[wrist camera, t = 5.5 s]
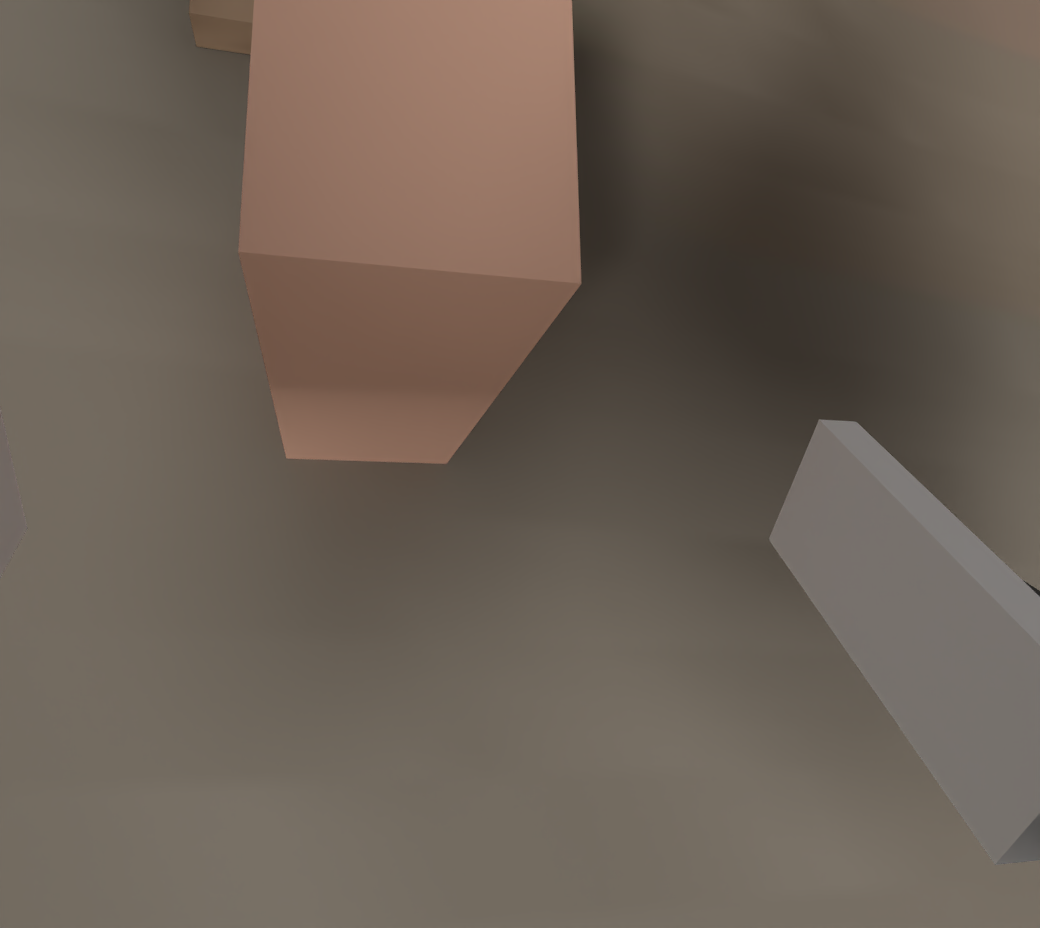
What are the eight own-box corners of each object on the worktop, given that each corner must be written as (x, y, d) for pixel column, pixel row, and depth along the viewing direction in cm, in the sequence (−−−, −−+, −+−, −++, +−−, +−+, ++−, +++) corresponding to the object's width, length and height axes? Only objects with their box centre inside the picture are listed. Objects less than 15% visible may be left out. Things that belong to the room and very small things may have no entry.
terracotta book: (286, 458, 24) (238, 252, 11) (297, 222, 26) (267, -212, 12) (446, 463, 25) (581, 283, 12) (447, 237, 27) (566, -144, 14)
